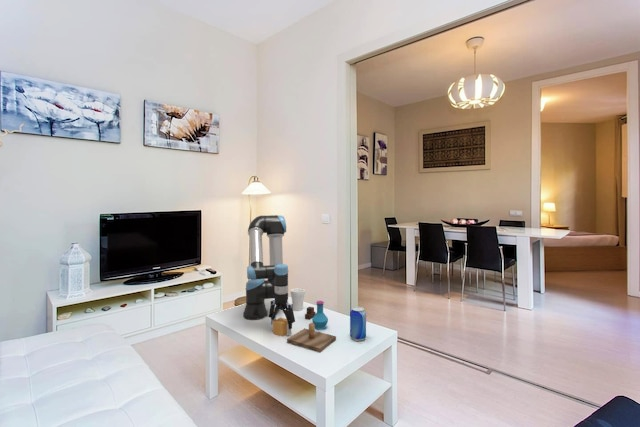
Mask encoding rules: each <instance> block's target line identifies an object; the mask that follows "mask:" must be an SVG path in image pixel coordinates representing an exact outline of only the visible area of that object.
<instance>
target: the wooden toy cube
mask: <svg viewBox="0 0 640 427" xmlns="http://www.w3.org/2000/svg"><path fill="white" fill-rule="evenodd" d="M287 323H288V321H287V319H286V318H283V317H279V318H276V320H275V321H273V331H272V332H273V335H275V336H276V335H277V336H279V337H284V336H287Z"/></svg>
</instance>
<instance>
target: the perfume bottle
mask: <svg viewBox="0 0 640 427" xmlns="http://www.w3.org/2000/svg"><path fill="white" fill-rule="evenodd" d="M315 303H316V311H317V312H316V314H315V316H314V317H313V318H312V319H311V320H312V323H314V324H315V330H318V331H319V330H325V329H326V328H327V324H328V322H329V318H328V317H327V315H326V314H325V313H324V304H325V301H323V300H317V301H315Z"/></svg>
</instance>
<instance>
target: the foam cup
mask: <svg viewBox="0 0 640 427" xmlns="http://www.w3.org/2000/svg"><path fill="white" fill-rule="evenodd" d="M305 291H306V290H305V289H304V288H301V287H300V288H291V289H290V296H291V304H293V307H292V308H293V311H295V312H300V311H303V308H304V299H305Z"/></svg>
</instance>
